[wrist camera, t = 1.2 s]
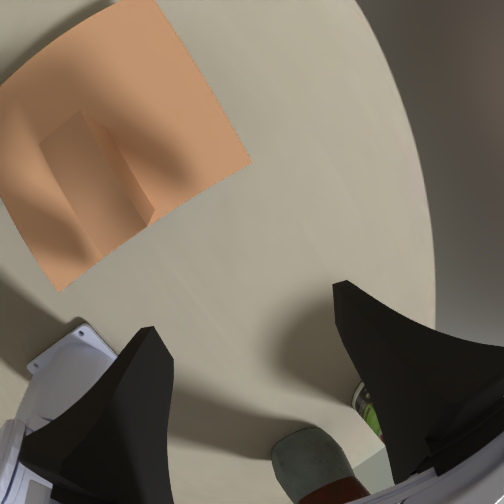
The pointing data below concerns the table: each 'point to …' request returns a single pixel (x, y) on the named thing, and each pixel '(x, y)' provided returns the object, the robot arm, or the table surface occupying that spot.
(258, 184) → the table surface
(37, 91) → the lid
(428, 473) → the robot arm
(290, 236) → the table surface
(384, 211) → the table surface
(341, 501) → the bottle
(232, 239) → the table surface
